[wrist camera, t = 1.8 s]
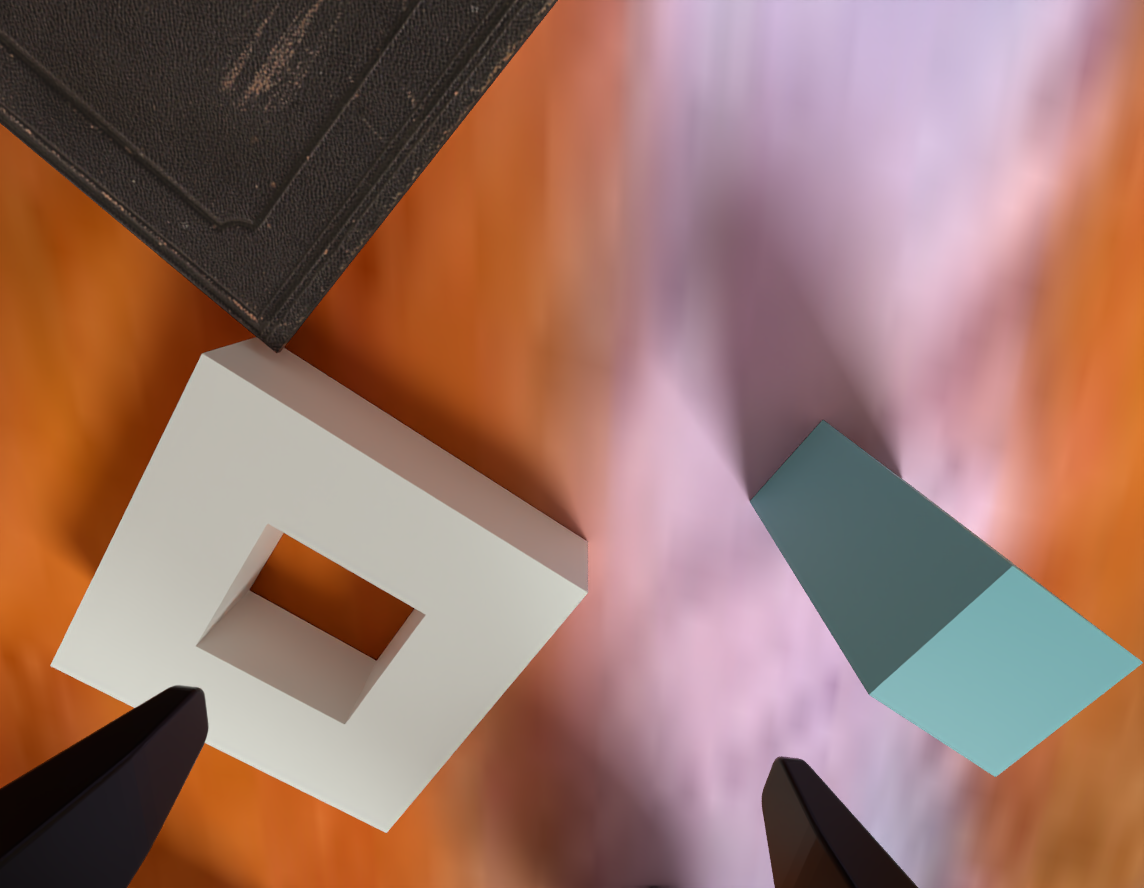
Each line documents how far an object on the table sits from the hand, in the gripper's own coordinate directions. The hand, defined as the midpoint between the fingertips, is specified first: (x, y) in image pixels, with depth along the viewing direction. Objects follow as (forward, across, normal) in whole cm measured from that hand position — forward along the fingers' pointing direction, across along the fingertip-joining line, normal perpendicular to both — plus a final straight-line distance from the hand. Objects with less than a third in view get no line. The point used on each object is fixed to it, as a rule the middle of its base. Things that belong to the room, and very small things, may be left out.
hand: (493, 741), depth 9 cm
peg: (+13, -11, +1) cm, 17 cm away
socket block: (+13, +7, +7) cm, 17 cm away
